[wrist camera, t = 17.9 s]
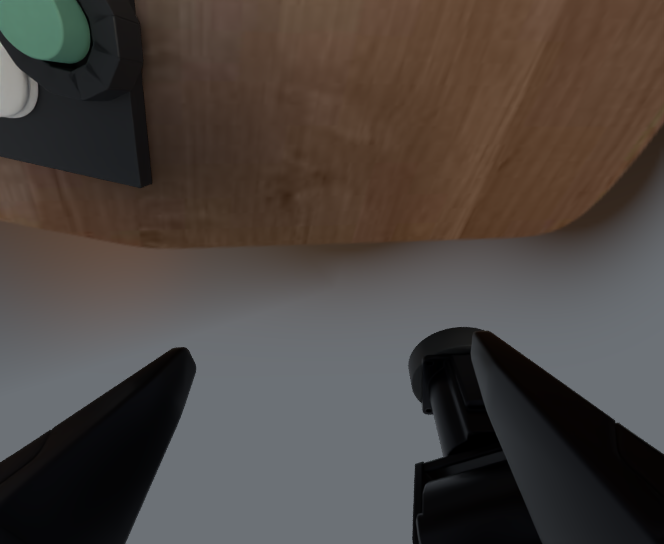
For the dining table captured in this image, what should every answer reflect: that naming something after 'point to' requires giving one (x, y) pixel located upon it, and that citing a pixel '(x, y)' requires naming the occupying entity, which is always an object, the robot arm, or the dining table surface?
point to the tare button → (46, 29)
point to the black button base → (87, 103)
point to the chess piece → (15, 89)
